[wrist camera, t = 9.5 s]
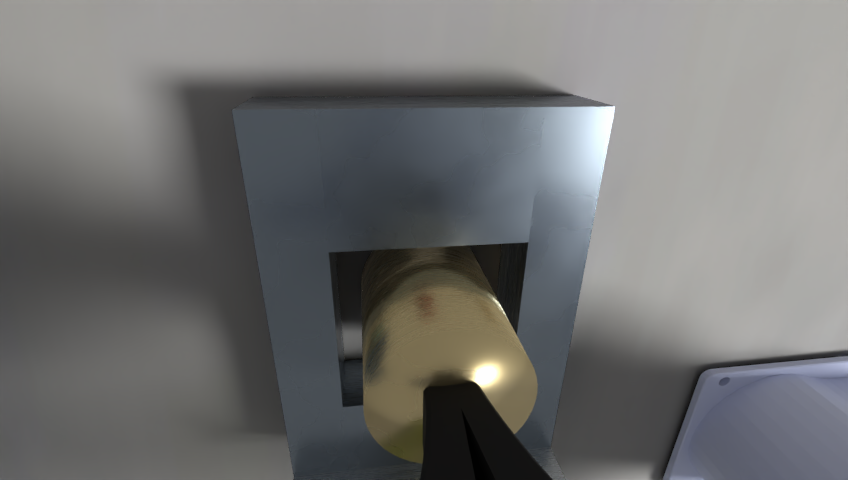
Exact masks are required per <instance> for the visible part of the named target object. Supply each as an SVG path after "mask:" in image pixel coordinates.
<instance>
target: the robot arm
mask: <svg viewBox="0 0 848 480" xmlns="http://www.w3.org/2000/svg"><path fill="white" fill-rule="evenodd" d="M422 443H423V453H424V454H423V463H422V470H421V476H420V480H553V479H552V478H551V477H550V476H549V475H548V474H547V472H546V471H545V470H544V469H543V468H542V467H541V466H540V465H539V463H538V462H537V461H536V460H535V459H534V458H533V456H532V455H531V454H530V453H529V452H528V450H527V449H526V448H525V447H524V445H523V444H522V443H521V442H520V441H519V439H518V438H517V437H516V436H515V434H514V433H513V432H512V431H511V429H510V428H509V427H508V425H507V424H506V423H505V421H504V420H503V419H502V417H501V416H500V415H499V413H498V412H497V411H496V409H495V408H494V406H493V405H492V404H491V402H490V401H489V399H488V398H487V396H486V395H485V393H484V392H483V390H482V389H481V387H480V386H479V385H478V384H477V383H465V384H455V385H444V386H433V387H427V388H426V389H425V390H424V391H423V441H422ZM663 480H848V356H842V357H831V358H820V359H810V360H799V361H789V362H778V363H768V364H757V365H747V366H736V367H726V368H715V369H709V370H706V371H704V372H703V373H702V374H701V375H700V377H699V380H698V383H697V385H696V388H695V391H694V394H693V397H692V399H691V402H690V405H689V408H688V410H687V413H686V416H685V419H684V421H683V424H682V427H681V430H680V433H679V435H678V438H677V441H676V444H675V446H674V449H673V452H672V455H671V458H670V460H669V463H668V466H667V469H666V471H665V474H664V477H663Z"/></svg>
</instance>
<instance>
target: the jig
mask: <svg viewBox="0 0 848 480" xmlns="http://www.w3.org/2000/svg"><path fill="white" fill-rule="evenodd" d="M614 110H615V106H612V105H608V104H605V103H601V102H598V101H594V100H591V99H587V98H583V97H580V96H576V95H553V96H376V97H252V98H251V99H249V100H247V101H246V102H244V103H242V104H241V105H239V106H237V107H236V108H234V109H232V115H233V120H234V126H235V132H236V138H237V144H238V150H239V156H240V162H241V168H242V174H243V179H244V185H245V191H246V197H247V203H248V209H249V215H250V221H251V227H252V232H253V238H254V244H255V250H256V256H257V262H258V268H259V274H260V280H261V286H262V291H263V297H264V303H265V309H266V315H267V321H268V327H269V333H270V339H271V344H272V350H273V356H274V362H275V368H276V374H277V380H278V386H279V392H280V398H281V403H282V409H283V415H284V421H285V427H286V433H287V439H288V445H289V451H290V457H291V462H292V468H293V474H294V479H293V480H420V476H421V470H422V464H421V463H416V462H411V461H408V460H405V459H402V458H399V457H397V456H395V455H393V454H391V453H390V452H388V451H387V450H385V449H384V448H383V447H382V446H380V445H379V444H378V443H377V442H376V440H375V439H374V438H373V437H372V435H371V433H370V432H369V430H368V428H367V425H366V422H365V418H364V404H363V359H361V360H349V361H344V349H343V337H342V325H341V313H340V301H339V289H338V277H337V265H336V253H335V252H347V251H367V250H387V249H406V248H426V247H446V246H466V245H485V244H502V247H501V257H500V268H499V278H498V289H497V299H498V301H499V303H500V305H501V307H502V309H503V310H504V312H505V314H506V316H507V318H508V320H509V322H510V324H511V326H512V327H513V329H514V331H515V333H516V335H517V337H518V339H519V341H520V343H521V344H522V346H523V348H524V350H525V352H526V354H527V356H528V358H529V359H530V361H531V363H532V365H533V367H534V370H535V373H536V376H537V384H538V388H537V397H536V401H535V404H534V407H533V410H532V412H531V414H530V415H529V417H528V419H527V420H526V422H525V423H524V424H523V426H522V427H521V428H520V429H519V430H518V431H517V432H516V433H515V436H516V437H517V438H518V439H519V441H520V442H521V443H522V444H523V445H524V447H525V448H526V449H527V450H528V452H529V453H530V454H531V455H532V456H533V458H534V459H535V460H536V461H537V462H538V463H539V465H540V466H541V467H542V468H543V469H544V470H545V471H546V472H547V474H548V475H549V476H550V477H551V478H552V479H553V480H566V479H565V477H564V475H563V473H562V471H561V469H560V466H559V464H558V462H557V460H556V458H555V456H554V454H553V451H552V449H551V442H552V437H553V431H554V426H555V421H556V415H557V410H558V405H559V400H560V394H561V389H562V384H563V379H564V373H565V368H566V363H567V358H568V352H569V347H570V342H571V337H572V331H573V326H574V321H575V316H576V310H577V305H578V300H579V295H580V289H581V284H582V279H583V274H584V268H585V263H586V258H587V252H588V247H589V242H590V237H591V231H592V226H593V221H594V216H595V210H596V205H597V200H598V195H599V189H600V184H601V179H602V174H603V168H604V163H605V158H606V153H607V147H608V142H609V137H610V132H611V126H612V121H613V116H614Z"/></svg>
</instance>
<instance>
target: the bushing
mask: <svg viewBox="0 0 848 480" xmlns="http://www.w3.org/2000/svg"><path fill="white" fill-rule="evenodd" d="M361 292H362V348H363V404H364V418H365V422H366V425H367V428H368V430H369V432H370V433H371V435H372V437H373V438H374V439H375V440H376V442H377V443H378V444H379V445H380V446H382V447H383V448H384V449H385V450H387V451H388V452H390V453H391V454H393V455H395V456H397V457H399V458H402V459H405V460H408V461H411V462H416V463H421V464H422V463H423V454H424V453H423V443H422V441H423V391H424V390H425V389H426V388H427V387H433V386H444V385H455V384H465V383H477V384H478V385H479V386H480V387H481V389H482V390H483V392H484V393H485V395H486V396H487V398H488V399H489V401H490V402H491V404H492V405H493V406H494V408H495V409H496V411H497V412H498V413H499V415H500V416H501V417H502V419H503V420H504V421H505V423H506V424H507V425H508V427H509V428H510V429H511V431H512V432H513V433H514V434H515V433H516V432H517V431H518V430H519V429H520V428H521V427H522V426H523V424H524V423H525V422H526V420H527V419H528V417H529V415H530V414H531V412H532V410H533V407H534V404H535V401H536V397H537V388H538V384H537V376H536V373H535V370H534V367H533V365H532V363H531V361H530V359H529V358H528V356H527V354H526V352H525V350H524V348H523V346H522V344H521V343H520V341H519V339H518V337H517V335H516V333H515V331H514V329H513V327H512V326H511V324H510V322H509V320H508V318H507V316H506V314H505V312H504V310H503V309H502V307H501V305H500V303H499V301H498V299H497V297H496V295H495V293H494V292H493V290H492V288H491V286H490V284H489V282H488V280H487V278H486V277H485V275H484V273H483V271H482V269H481V267H480V265H479V263H478V261H477V260H476V258H475V256H474V254H473V252H472V251H471V249H470V248H469V246H468V245H466V246H446V247H426V248H406V249H387V250H373V252H372V253H371V254H370V256H369V257H368V259H367V261H366V263H365V265H364V269H363V272H362V278H361Z"/></svg>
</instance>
